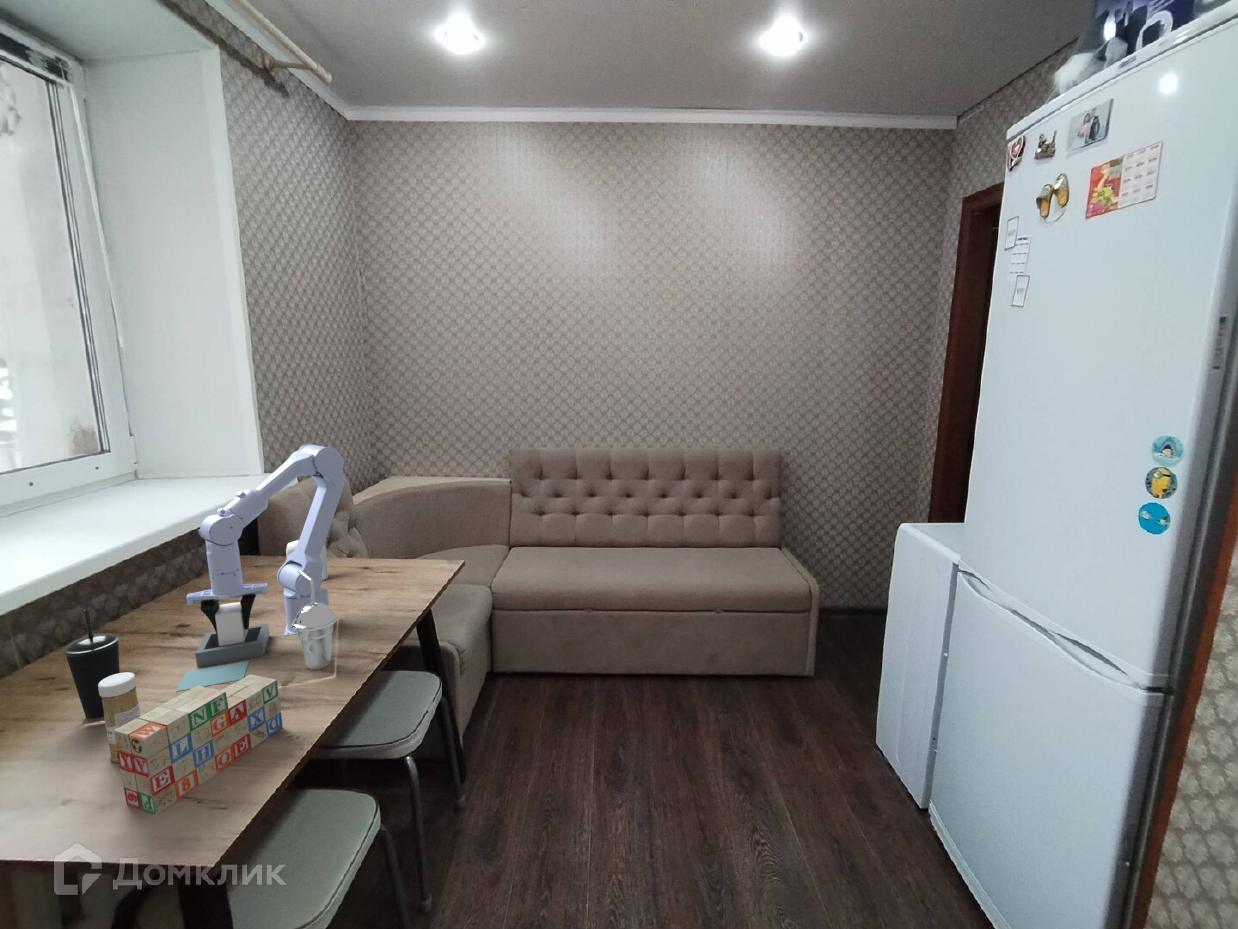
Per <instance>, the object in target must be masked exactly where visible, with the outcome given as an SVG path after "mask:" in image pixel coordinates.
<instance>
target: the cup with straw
mask: <svg viewBox="0 0 1238 929" xmlns="http://www.w3.org/2000/svg"><path fill="white" fill-rule="evenodd" d="M298 573H299V574H300V575H302V576H303V577H304V578H306V579H307V580H308V581H309V582H310V590H311V600H312V603H309V604H307V605H305V606H304V607H302V608H301V609H300V610H299V612H298V614H297V616H296V618H295V619H294V620H293V622H292V629H293V630H295V631H297V634H296V635H297V636H298V639H299V641H300V645H301V649H302V654H303V659H304V662H305V666H307V668H308V669H310V670H318V669H322V668H325V667H327V666H328V665H330V663H331V660H332V652H333V650H332V649H333V645H332V644H333V631H334V627H335V626H334V624H335V623H337V621H338V615H337V614H336V612H334V611H333V610H332V609H331V607H330V606H329V607H328V606H327V605H326V604H324V603H320V602H315V591H314V582H313V580H312V578H310V577H309V576H308V575H307V574H305V573H304V572H303V571H301V570H298Z"/></svg>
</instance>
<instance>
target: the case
mask: <svg viewBox="0 0 1238 929" xmlns="http://www.w3.org/2000/svg"><path fill="white" fill-rule="evenodd" d="M269 627H270V626H269V623H261V624H256V625H249V628H248V633H247V635H246V638H245V641H244V642H242V643H236V644H230V645H224V646H219V641H218V634H216V631H211V632H205V634H204V636H203V637H202V640H201V641H200V644H199V646H198V647H197V650H196V651H195V662H196V667H197V668H201V667H205V666H206V667H207V666H211V665H212V666H213V665H217V664H221V663H222V664H223V663H227V662H228V663H229V662H235V661H239V660H246V659H250V658H252V659H253V658H258V657H262V656H265V654H266V653H265V652H266V649H267V647H268V642H269V641H270V640H269V639H270V629H269Z"/></svg>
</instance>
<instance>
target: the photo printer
mask: <svg viewBox="0 0 1238 929" xmlns="http://www.w3.org/2000/svg"><path fill="white" fill-rule="evenodd" d="M298 542H299V539H297V540H294V541H290V542H288V543H287V545H286V550H285V553H286V558H287V557H288V555H290V554H291V553H292V552H293V551H295V550H296V547H297V545H298ZM326 548H327V547H326V544H325V543H324V546H323V549H322V551H321V554H320V557H321V560H322V562H323V569H322V581H326V580H328V579H329V572H328V571H329V570H328V561H327V559H328V558H327V549H326ZM325 579H326V580H325Z"/></svg>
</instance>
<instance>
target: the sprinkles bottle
mask: <svg viewBox="0 0 1238 929" xmlns="http://www.w3.org/2000/svg"><path fill="white" fill-rule="evenodd" d="M98 689H99V695H100V696H101V698H102V703H103V710H104V717H103V718H104V722H105V723H104V725H105V731H106V736H107V743H108V745H109V752H110V754H109V755H110V756H109V759H110V761H112V762H114V763H118V757H117V752H116V750H117V745H116V739H115V734H114V730H115V729H117V728H119V727H121V726H123V725H125V724H127V723H128V722H130V721H132V720H134V719H137V718H139V717H140V716H141V712H140V704H139V700H138V696H137V680H136V674H134V672H130V671H129V672H120V673H118V674H114V675H111V676H109V677H107V678H105V679H103V680H102V681H100V682H99V684H98Z"/></svg>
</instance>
